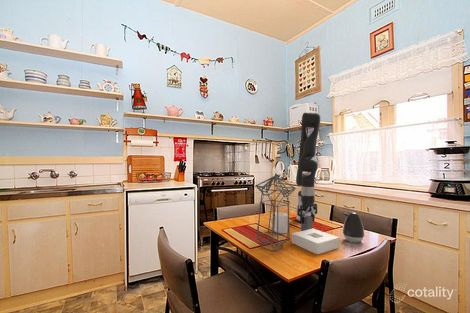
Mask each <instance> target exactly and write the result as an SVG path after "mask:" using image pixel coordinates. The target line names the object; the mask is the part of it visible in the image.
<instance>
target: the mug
mask: <svg viewBox="0 0 470 313" xmlns="http://www.w3.org/2000/svg"><path fill="white" fill-rule="evenodd" d="M269 219H270V216H269V218H268V220H267V221H268V222H267V223H268V224H269ZM271 220H273V214H271V219H270V227H271V228H272V223H271ZM273 226H274V225H273ZM287 227H288V212H279V211H278V234H281V235H282V234H283V235H285V234H287ZM274 233H277V212H275V227H274Z"/></svg>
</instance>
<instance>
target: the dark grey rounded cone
mask: <svg viewBox="0 0 470 313" xmlns="http://www.w3.org/2000/svg"><path fill="white" fill-rule="evenodd" d="M342 214H343V215H344V216H345V217H346V218H345V221H344V222H343V227H342V234H343V237H344V238H345V240H346V241H348V242H350V243H354V244H355V243H356V244H357V243H361V242H362V241H363V240H364V237H365V229H364V225H363V222H362V219H361V217H360V215H359V213H357V212H352V211H351V212H350V213H346V212H342Z"/></svg>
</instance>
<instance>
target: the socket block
mask: <svg viewBox="0 0 470 313" xmlns="http://www.w3.org/2000/svg"><path fill="white" fill-rule="evenodd" d="M291 243H292V245H293V244H294V245H296V246H298V247H300V248H303V249H304V250H306V251H309V252H311V253H314V254H315V255H321V254H323V253H328V252H330V251H333V250H336V249H339V248H340V236H337V235H333V234H331V233H327V232H324V231H321V230H318V229H315V228H312V229H309V230H304V231H301V230H300V231H296V232H292V233H291Z"/></svg>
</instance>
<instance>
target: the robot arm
mask: <svg viewBox="0 0 470 313" xmlns="http://www.w3.org/2000/svg"><path fill="white" fill-rule="evenodd" d="M320 126H321V114H320V113H318V112H304V113H303V114H302V116H301V127H300V128H301V130H300V131H301V132H300V141H299V142H300V143H299V148H298V149H299V151H298V162H297V163H298V164H297V171H296V177H295V184H296V185H297V186H299V187H301V188H300V190H299V191H298V192H297V206H296V220H297V221H298V222H299V223H300V224H301V223H302V224H304V216H305V215H307V216H311V217H313V223H314V222H315V220H316V219H315V218H316V217H315V216H316V215H317V214H318V203H315V202H316V200H315V195H316V194H315V190H316V189H315V177H316V174H317V170H318V166H319V164H318V161H317V160H315V159H313V158H314V157H315V156H316V148H317V142H318V141H317V140H318V136H319V131H320ZM307 128H310V129H311V128H313V130H312V132H311V133H310V134H309V135H308V131H307V130H308V129H307Z"/></svg>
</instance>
